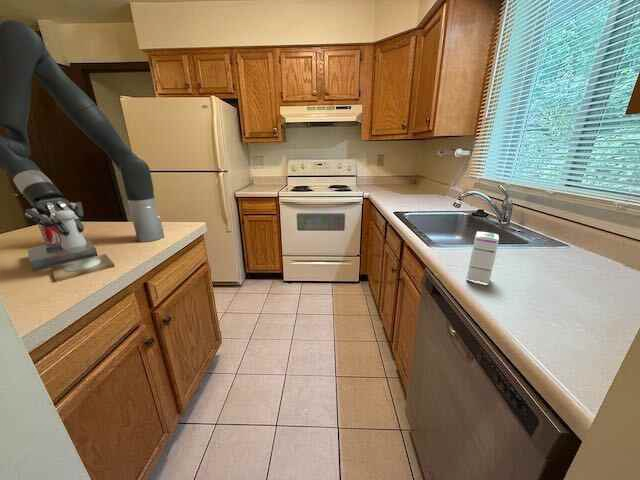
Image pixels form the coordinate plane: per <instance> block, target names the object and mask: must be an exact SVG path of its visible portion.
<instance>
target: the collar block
mask: <svg viewBox="0 0 640 480" xmlns="http://www.w3.org/2000/svg"><path fill="white" fill-rule="evenodd" d="M84 238H85V240H86V248H85V250H84V251H82V252H78V253H67V252H66V251H65V250H64V249H63V248H62V247H61V242H60V243H54V244H49V245H46V244H45V245H44V244H43V245H38V246H35V247H29V248H27V254H28V261H29V263H30V266H31V269H32V270H33V271H32V272H33V273H34V272H35V273H36V272H39V271H42V270H43V271H44V270H46V269H52V268H51V266H56V265H60V264H64V263H69V262H73V261H77V260H82V259H86V258H90V257H95V256H99V254H98V251H97V249H96V247H95V245H94V244H93V242H91V240H90V239H89V238H88V237H87V236H86V237H84Z"/></svg>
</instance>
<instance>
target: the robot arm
mask: <svg viewBox="0 0 640 480" xmlns="http://www.w3.org/2000/svg"><path fill="white" fill-rule="evenodd" d="M33 76H34V77H35V78H36V79H37V80H38V81H39V82H40V83H41V84H42V86H43V87H45V89H46V90H47V92H49V94H50V96H51V97H52V99H54V101H55V102H56V104H57V105H58V106H59V107H60V109H61V110H62V111H63V112H64V114H66V116H67V117H68V118H69V119H70V120H71V121H72V122H73V124H75V125H76V126H77V128H78V129H79V130H80V131H82V133H83V134H84V135H86V136H87V137H88V138H89V139H90V140H91V141H92V142H93V143H95V145H97V146H98V147H99V148H100V149H102V151H103V152H104V153H105V154H106V155H107V157H109V158H110V160H111V161H112V162H113V164H114V165H115V166H116V168H117V169H118V170H119V172H120V174H121V177H122V181H123V186H124V190H125V195H126V199H127V204H128V208H129V211H130V215H131V219H132V224H133V227H134V232H135V236H136V240H137V241H138V242H142V243H147V242H154V241H157V240H160V239H163V238H165V234H164V227H163V222H162V219H161V216H160V215H159V212H158V208H157V203H156V198H155V193H154V192H155V190H154V185H153V178H152V174H151V173H152V172H151V169H150V167H149V165H148V163H147V162H146V161H145V160H143V159H141V158H140V157H138V156H137V154H135V153H134V152H133V151H132V150H131V148H129V147H128V146H127V145H126V144H125V142H124V141H123V140H122V138H121V137H120V136H119V135H120V134H119V133H118V132H117V130H116V128H115V127H114V126H113V125H112V123H111V121H110V120H109V118H107V116H106V115H105V114H104V112H103V111H102V110H101V109H100V107H98V105H97V104H96V103H95V102H94V101H93V100H92V98H90V97H89V95H88V94H86V93H85V91H83V90H82V89H81V88H80V87H79V86H78V85H77V84H76V83H74V81H72V80H71V79H70V78H69V76H68V75H67V74H65V72H64V71H63V69H62V68H61V67H60V65H59V64H58V63H57V62H56V61H55V59H54V58H53V56H52V55H51V53H50V52H49V51H48V49H47V47H46V45H45V43H44V40H43V39H42V38H41V36H40V35H39V34H38V33H37V31H35V30H34V29H33V28H32V27H30V26H29V25H27V24H25V23H24V22H22V21H17V20H14V19H13V20H12V19H11V20H10V19H9V20H8V19H7V20H5V21H2V22H0V128H2V129H4V130H5V131H6V134H7V136H4V135H0V169H1V170H2V171H3V172H5V173H6V175H8V177H9V178H10V179H11V180H12V182H13V183H14V184H15V186H16V188H17V189H18V190H19V192H20V193H21V194H22V196H23V197H25V199H26V200H27V201H28V202H29V204H30V205H31V206H32V208H26V210H25V214H24V217H26V218H27V219H29V220H31V221H33V222H34V223H37V224H40V225H42V226H44V227H49V226H53V227H55V228H56V229H57V230H58V232H59V233H60V234H62V235H64V236H67V235H69V230H68V229H67V228H66V227H65V226H64V225H63V224H62V222H61V223H60V220H59V219H56V217H55V213H56V212H57V211H61V210H71V209H72V210H73V211H74V212H75V217H74V218H73V219H74V221H75V223H76V225H77V226H78V229H79V231H80V232H81V233H83V232H84V229H85V225H84V224H83V223H82V220H83V217H84V210H83V204H82V202H81V201H77V202H70V200H68V199H66V198H65V197H64V195H63V194H62V192H60V190H59V189H58V188H57V187H56V185H55V184H54V183H53V181H52V180H51V179H50V178H49V177H48V176H46V175H45V174H44V173H43V172H42V170H41V168H39V166H38V165H37V164H36V163H35V162H34V161H32V160H31V159H29V157H30V155H31V145H30V139H29V133H28V129H27V128H28V121H29V115H30V110H31V93H32V92H31V91H32V90H31V88H32V81H33V80H32V79H33ZM42 215H46V216H47V217H48V218H46V217H44V216H42Z"/></svg>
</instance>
